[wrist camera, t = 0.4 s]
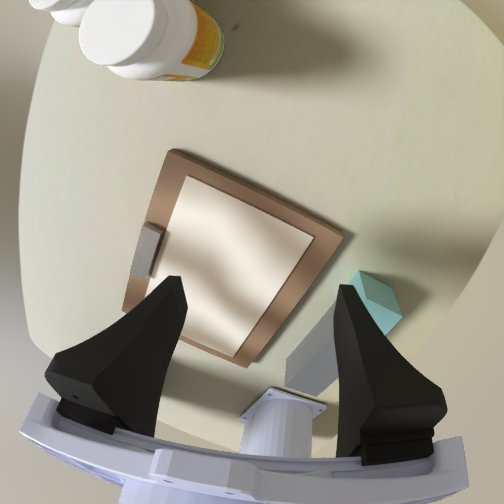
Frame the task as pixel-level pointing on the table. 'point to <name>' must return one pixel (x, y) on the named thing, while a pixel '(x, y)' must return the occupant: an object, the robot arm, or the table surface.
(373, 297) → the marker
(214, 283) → the clipboard
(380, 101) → the table surface
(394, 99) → the table surface
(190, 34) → the supplement bottle
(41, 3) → the supplement bottle
